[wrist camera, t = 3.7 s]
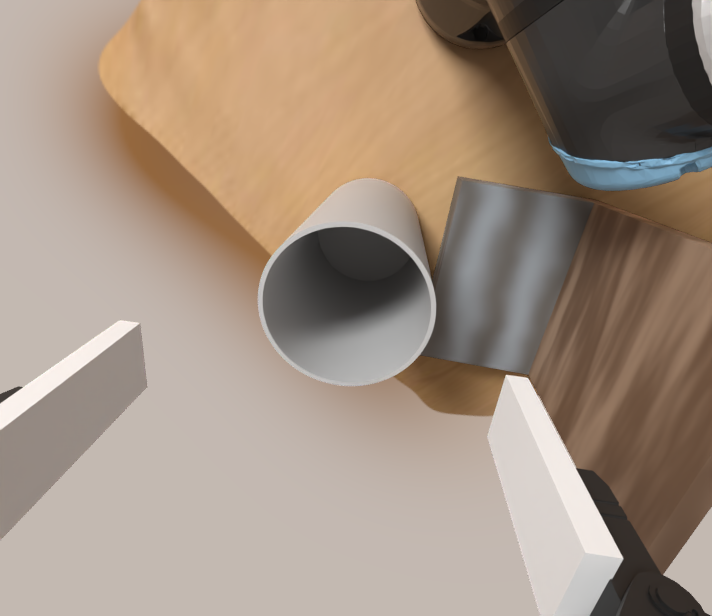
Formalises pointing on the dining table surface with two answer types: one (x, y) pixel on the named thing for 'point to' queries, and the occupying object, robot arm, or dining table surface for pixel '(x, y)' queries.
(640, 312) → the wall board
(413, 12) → the dining table surface
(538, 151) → the dining table surface
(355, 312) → the cylinder vase
